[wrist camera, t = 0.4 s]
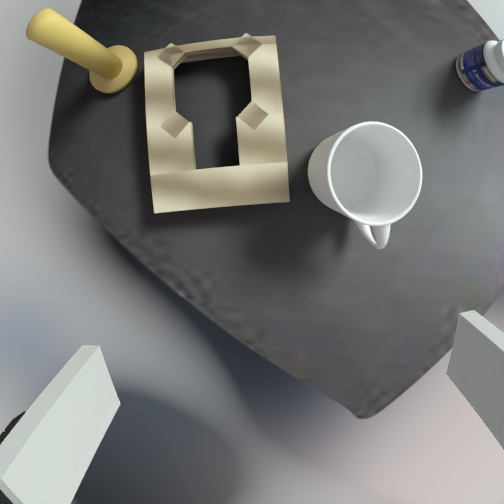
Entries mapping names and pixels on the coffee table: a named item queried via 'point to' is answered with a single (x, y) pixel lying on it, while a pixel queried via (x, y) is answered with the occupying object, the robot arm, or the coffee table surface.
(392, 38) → the coffee table surface
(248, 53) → the keyhole board
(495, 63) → the pill bottle
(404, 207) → the mug
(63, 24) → the headed peg
